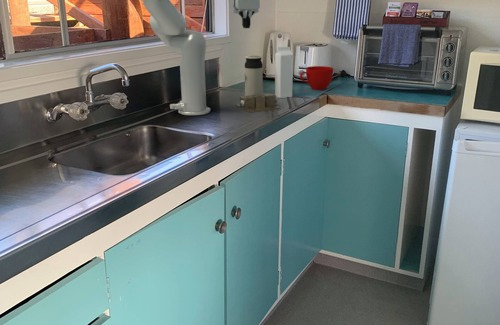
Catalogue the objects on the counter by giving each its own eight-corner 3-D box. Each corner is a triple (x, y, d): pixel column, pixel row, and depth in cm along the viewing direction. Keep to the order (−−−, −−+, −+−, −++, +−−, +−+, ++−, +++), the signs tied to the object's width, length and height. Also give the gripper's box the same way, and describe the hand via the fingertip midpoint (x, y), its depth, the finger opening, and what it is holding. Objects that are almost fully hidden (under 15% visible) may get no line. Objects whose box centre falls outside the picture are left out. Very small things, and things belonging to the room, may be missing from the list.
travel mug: (263, 94, 231) (263, 55, 225) (261, 98, 224) (261, 57, 218) (246, 94, 232) (245, 55, 226) (244, 98, 224) (243, 57, 219)
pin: (243, 108, 202) (243, 100, 201) (239, 106, 205) (239, 98, 204) (277, 104, 209) (277, 96, 208) (274, 102, 212) (274, 95, 210)
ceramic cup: (293, 88, 245) (293, 67, 242) (322, 85, 252) (323, 65, 249) (307, 93, 234) (307, 71, 231) (337, 89, 241) (338, 68, 238)
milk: (274, 95, 229) (274, 46, 222) (286, 94, 231) (287, 45, 224) (280, 98, 224) (280, 47, 217) (292, 97, 226) (293, 47, 219)
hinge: (249, 112, 199) (249, 100, 197) (236, 106, 210) (235, 94, 208) (280, 108, 204) (280, 96, 203) (266, 102, 215) (266, 91, 214)
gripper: (232, -20, 194) (233, 29, 200) (266, -20, 200) (266, 27, 206) (224, -20, 200) (226, 28, 206) (258, -20, 206) (258, 26, 212)
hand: (246, 27), depth 206 cm, fingers closed
